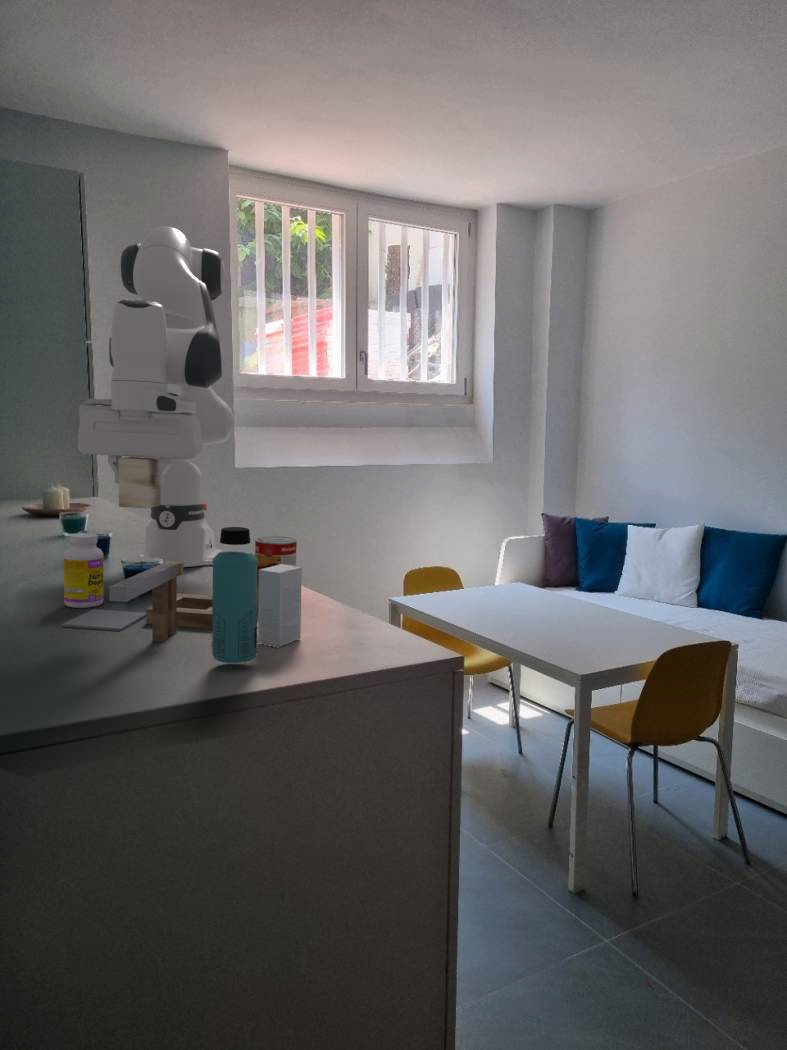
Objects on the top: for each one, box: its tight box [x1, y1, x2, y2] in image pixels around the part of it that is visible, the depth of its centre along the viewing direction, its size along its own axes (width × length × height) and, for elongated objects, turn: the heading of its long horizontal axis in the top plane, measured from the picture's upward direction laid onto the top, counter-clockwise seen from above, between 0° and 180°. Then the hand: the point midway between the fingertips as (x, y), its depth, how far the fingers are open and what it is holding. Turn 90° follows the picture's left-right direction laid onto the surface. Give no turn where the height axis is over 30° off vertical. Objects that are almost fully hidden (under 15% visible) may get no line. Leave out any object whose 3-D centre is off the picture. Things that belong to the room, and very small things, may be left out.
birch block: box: [118, 456, 161, 509], centre depth 123 cm, size 5×5×8 cm
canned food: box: [254, 536, 298, 604], centre depth 143 cm, size 8×8×12 cm
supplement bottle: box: [63, 532, 104, 609], centre depth 134 cm, size 7×7×13 cm
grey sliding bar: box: [109, 561, 184, 603], centre depth 110 cm, size 19×3×2 cm, turn 173°
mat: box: [62, 608, 146, 632], centre depth 125 cm, size 10×10×1 cm
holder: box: [145, 576, 213, 643], centre depth 125 cm, size 21×12×9 cm, turn 173°
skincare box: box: [257, 564, 302, 648], centre depth 117 cm, size 6×4×12 cm
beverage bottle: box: [210, 526, 259, 664], centre depth 104 cm, size 6×7×20 cm
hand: (140, 484), depth 123 cm, fingers closed on birch block, 5 cm apart
